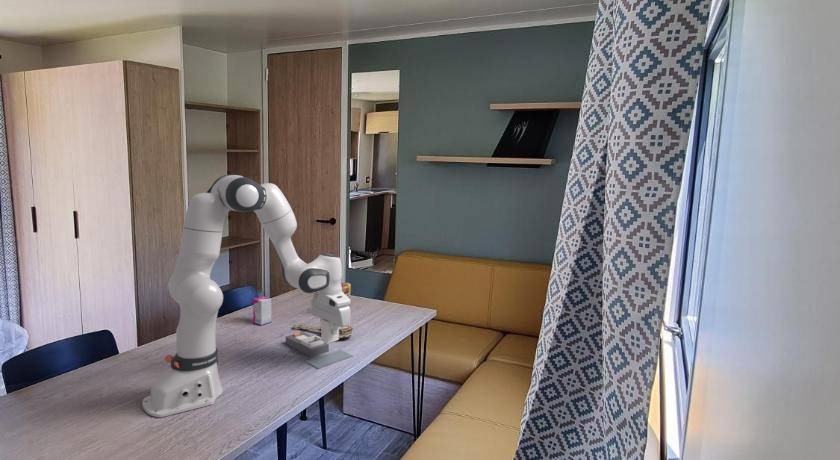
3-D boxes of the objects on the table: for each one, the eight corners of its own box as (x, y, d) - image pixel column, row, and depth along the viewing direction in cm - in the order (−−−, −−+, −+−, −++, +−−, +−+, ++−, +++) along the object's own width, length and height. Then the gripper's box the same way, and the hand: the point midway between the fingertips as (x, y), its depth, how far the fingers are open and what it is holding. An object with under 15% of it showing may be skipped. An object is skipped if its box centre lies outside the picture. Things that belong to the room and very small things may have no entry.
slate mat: (317, 368, 173) (317, 367, 173) (305, 361, 178) (305, 360, 178) (352, 356, 184) (352, 355, 184) (339, 350, 190) (339, 349, 190)
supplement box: (271, 322, 218) (271, 298, 217) (261, 326, 213) (260, 301, 212) (263, 319, 221) (263, 295, 220) (252, 323, 216) (252, 298, 215)
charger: (327, 343, 177) (327, 321, 176) (321, 340, 180) (321, 318, 179) (338, 339, 181) (338, 318, 180) (332, 336, 184) (332, 316, 182)
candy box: (335, 318, 227) (335, 286, 225) (329, 315, 230) (330, 284, 228) (350, 314, 233) (350, 283, 231) (345, 312, 236) (345, 281, 234)
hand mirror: (301, 318, 218) (358, 323, 206) (300, 331, 217) (358, 337, 205) (286, 320, 208) (345, 325, 196) (285, 334, 207) (344, 340, 196)
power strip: (311, 357, 183) (311, 346, 182) (285, 343, 195) (285, 333, 194) (328, 351, 188) (328, 340, 188) (302, 338, 201) (302, 328, 200)
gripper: (306, 292, 183) (306, 326, 185) (339, 304, 169) (339, 342, 171) (320, 289, 187) (320, 323, 189) (353, 301, 173) (353, 337, 175)
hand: (329, 332), depth 180 cm, fingers closed on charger, 4 cm apart
